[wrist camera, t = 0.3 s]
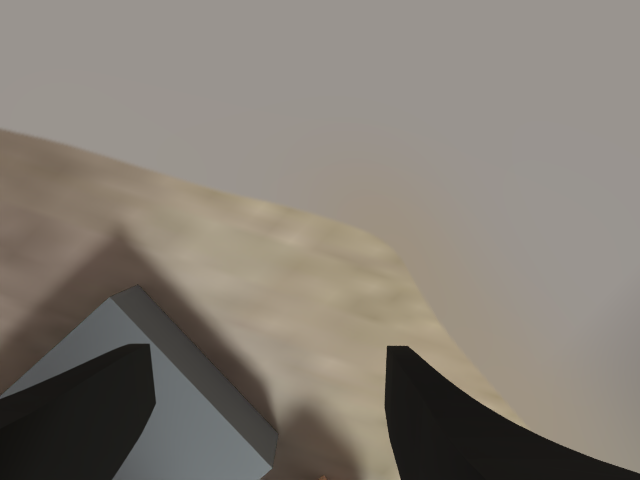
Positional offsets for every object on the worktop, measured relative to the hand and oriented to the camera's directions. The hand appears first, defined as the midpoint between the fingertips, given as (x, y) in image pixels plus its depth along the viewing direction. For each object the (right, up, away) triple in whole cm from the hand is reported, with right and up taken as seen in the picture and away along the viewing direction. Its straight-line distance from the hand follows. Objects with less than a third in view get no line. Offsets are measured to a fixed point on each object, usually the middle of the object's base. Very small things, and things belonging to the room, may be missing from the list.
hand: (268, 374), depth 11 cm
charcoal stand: (-9, -7, +11) cm, 16 cm away
